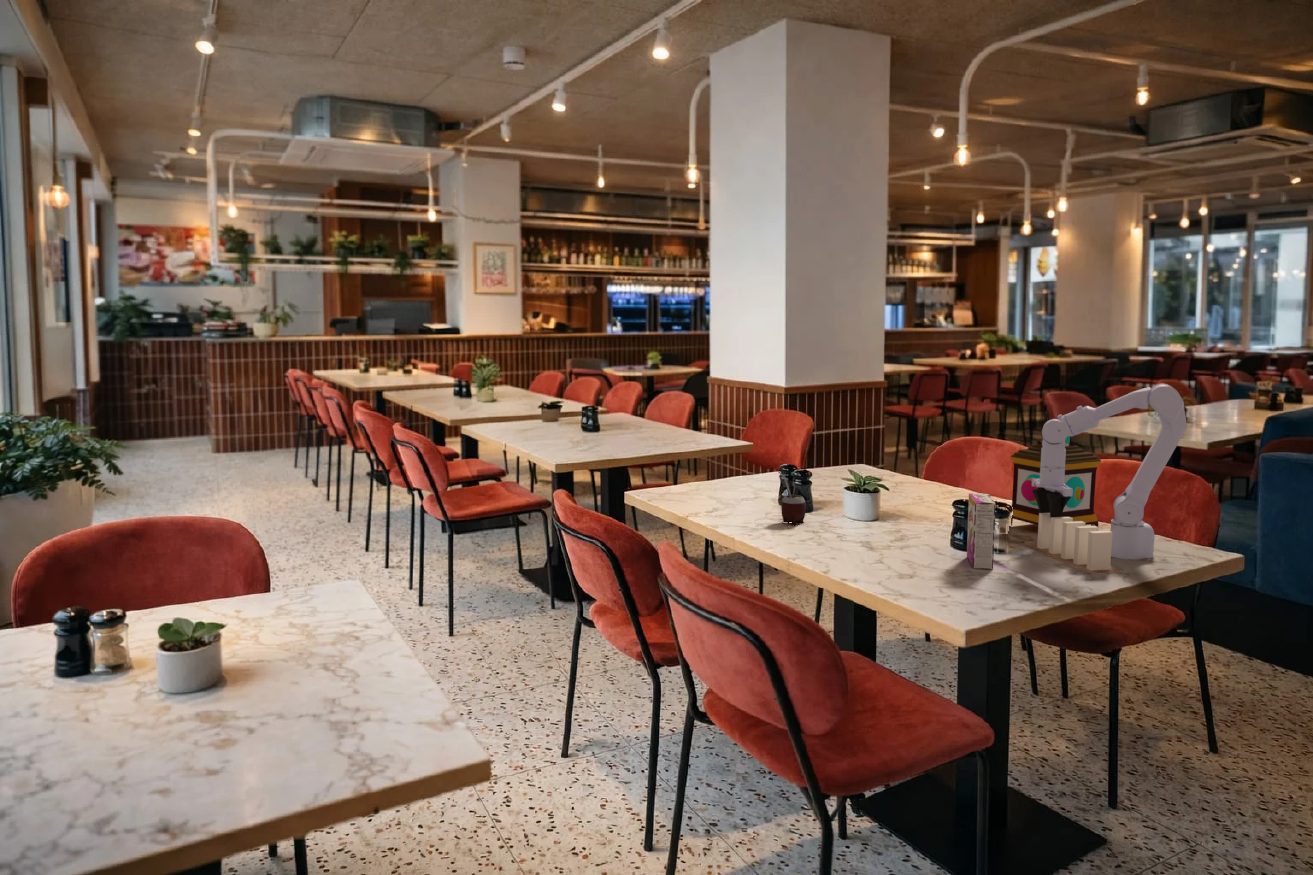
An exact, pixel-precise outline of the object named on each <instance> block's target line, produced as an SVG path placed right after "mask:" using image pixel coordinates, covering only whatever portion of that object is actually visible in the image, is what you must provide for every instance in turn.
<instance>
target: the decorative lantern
mask: <svg viewBox="0 0 1313 875" xmlns="http://www.w3.org/2000/svg"><path fill="white" fill-rule="evenodd" d="M1070 437H1071V436H1067V438H1066V439H1065V449H1066V458H1065V476H1064V484H1065V485H1067V486H1068V487H1069V488H1072V489H1073V493H1072V496H1071V498H1070V499H1069V501H1068V502H1067V504H1066V505H1065V507H1064V510H1063V512H1062V515H1061V517H1071V518H1073V522H1074V521H1082V522H1085V526H1096V527H1099V525H1100V524H1099V520H1098V518H1097V516H1096V513H1095V509H1094V508H1095V507H1094V506H1095V493H1096V480H1097V476H1096V475H1097V469H1098V468H1099V467H1100V464H1101V462H1102V460H1101V459H1100V458H1099V457H1098V456H1097V455H1094V453H1092V452H1090V451H1085V450H1084V449H1082V448H1080V447H1079V445H1076V443H1075V441H1074V442H1073V441H1070V439H1071V438H1070ZM1042 441H1043V440H1037V442H1036V443H1034V444H1032V445H1031V446H1029V447H1027V448H1023V449H1022V448H1021V449H1019V450H1018V451H1015V452H1013V454H1011V455H1010V460H1011V462H1012V465H1013V476H1012V477H1013V478H1012V497H1011V506H1012V507H1013V515H1012V518H1011V526H1012V525H1013V522H1014V520H1016V521H1021V522H1025V523H1029V524H1032V525H1036V526H1038V524H1039V508H1038V504H1037V501H1036V498H1035V496H1034V494H1033V493H1032V490H1034V489H1037V488H1038V487H1034V486H1032V479H1040V466H1041V449H1042V447H1043V446H1042ZM1011 526H1010V527H1011Z"/></svg>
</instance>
